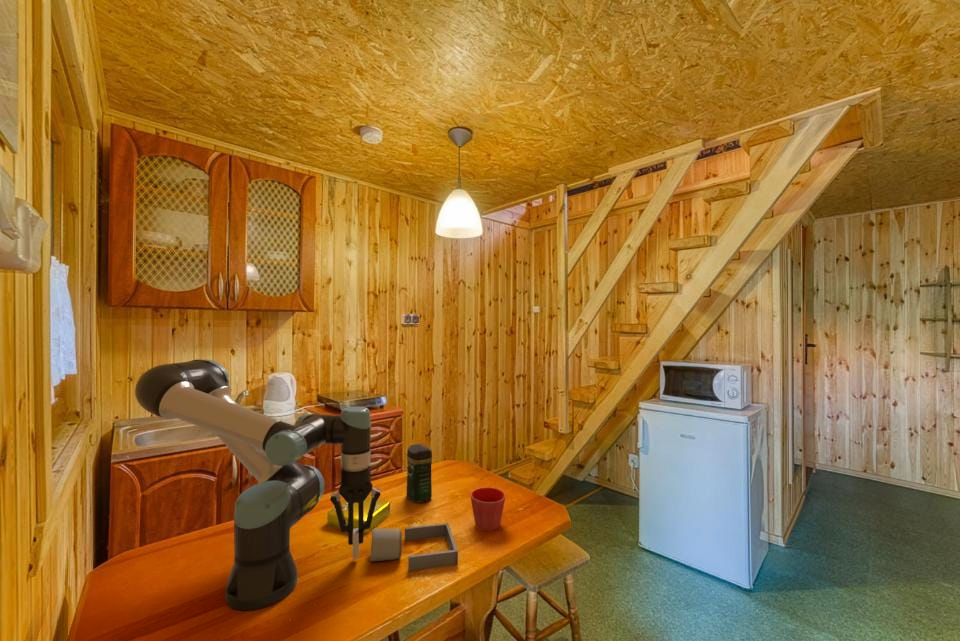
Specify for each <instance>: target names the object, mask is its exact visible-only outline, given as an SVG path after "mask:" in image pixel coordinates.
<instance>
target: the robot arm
mask: <svg viewBox="0 0 960 641" xmlns="http://www.w3.org/2000/svg"><path fill="white" fill-rule="evenodd" d="M229 377H230V376H229V373H228V371H227V369H226V368H225V367H224V366H223V365H222V364H221V363H219V362H217V361H215V360H211V359H192V360H189V361H183V362H182V361H181V362H174V363H165V364H159V365H156V366H153V367H152V368H149V369H148V370H146V371H145V372H144V373H143V374H141V376H140V377H139V378H138V379H137V382H136V384H135V388H134V394H135V399H136V401H137V402H138V404H139V405H140V407H141V408H142V409H144V410H145V411H147V412H149V413H150V414H151V415H153V416H157V417H159V418H162V419H164V420H173V419H179V420H181V421H183V422H185V423H188V424H191V425H194V426H197V427H199V428H201V429H205V430H207V431H210V432H212V433H214V434H215V435H216V436H217V437H218V438H219V440H220V441H221V442H222V443H223V444H224V445H225V446H226V447H227V449H228V450H229V451H230V452H231V453H232V454H233V455H234V456H235V457H236V458H237V460H238V461H239V462H240V463H241V464H242V465H243V466H244V468H245V469H246V471H247V470H248V472H249V473H250V474H251V475H252V477H254V478H255V479H256V481H257V484H254V485H252V486H249V487H248V488H246V489H245V490H244V491H242V492H241V493H240V495H239V496H238V497H237V498H236V501H235V505H234V511H233V521H234V523H233V524H234V525H233V526H234V528H233V529H234V535H233V537H234V539H233V540H234V548H233V549H234V551H233V552H234V558H233V559H234V560H233V564H232V568H231V571H230V574H229V576H228V579H227V582H226V586H225V591H224V594H225V595H224V599H225V600H224V601H225V603H226V605H227V606H228V607H229V608H231V609H234V610H239V611H254V610H258V609H259V610H260V609H262V608H266V607H269V606H271V605H273V604H276V603H277V602H279V601H281V600H283V599H284V598H286V597H287V596H288V595H290V593H292V592H293V590H294V589H295V587H296V586H297V582H298V568H297V565H296V563H295V560H294V556H293V555H292V553H291V549H290V547H291V546H290V544H291V542H290V541H291V540H290V539H291V538H290V536H291V534H290V533H291V528H292V527H293V526H295V525H296V524H297V523H298V522H299V521H300V520H301V519H303V517H305V516H306V515H307V514H308V513H310V512H312V511H313V510H314V508H315V507H316V506H317V504H319V502H320V501H321V500H322V498H323V495H324V492H325V480H324V477H323V475H322V473H321V472H320V470H318V468H316V467H315V466H313V465H311V464H310V465H307V464H303V465H302V463H300V461H299V460H300V459H302V458H303V456H305V455H307V454H308V453H310V452H312V451H313V450H315V449H316V448H318V447H320V446H322V445H340V467H341V470H340V486H339V489H338V490H337V491H336V492H333V493H332V494H331V495H330V499H329V500H330V502H331V504H332V505H333V506H334V507H335V510H336V514H337V517H338V521H339V525H340V529H339V530H340V532H341V533H347V535H348V536H347V539H348V540H347V544H348V545H349V546H352V559H359V558H360V556H359V555H360V544H363V543H364V538H365V537H364V535H365V534H364V530H365V529H369V528H370V526H371V522H372V518H373V514H374V510H375V505H376V501H377V500H378V499H380V497H381V490H380V488H377V489H376V488H375V487H374V486H373V483H372V482H371V481H372V479H371V477H372V476H371V470H372V469H371V468H372V466H371V462H372V460H371V459H372V458H371V456H372V455H371V454H372V452H371V451H372V450H371V436H372V435H371V434H372V433H371V432H372V431H371V430H372V429H371V428H372V423H371V412H370V410H369V408H367V407H365V406H350V407H349V406H348V407H345V408H343V409H342V410H341V411H340V415H339V414H319V413H318V414H317V413H311V414H307V413H306V414H302V415H300V416H299V417H298V418H297V420H296V421H295V422H294V424H291V423H288V422H286V421H282V420H279V419H276V418H274V417H271V416H268V415H266V414H264V413H261V412H257V411H255V410H252V409H250V408H248V407H245V406H242V405H239V404H238V403H237V401H235V400H234V398H233V397H232V396H231V394H232V393H231V392H232V387H231V385H230V379H229ZM369 495H370V497H372V499H371V503H370V508H369V512H368V516H367V520H366V522H365V523H364V500H365V499H366V498H367V497H369ZM341 497H342V498H343V499H344V501H345V500H346V502H348V525H347V524H346V521H345V517H344V513H343V510H342V506H341V503H342V502H341V499H342V498H341ZM354 503H358V528H356V529H353V526H354V525H353V519H354Z"/></svg>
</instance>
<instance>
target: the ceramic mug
mask: <svg viewBox="0 0 960 641" xmlns="http://www.w3.org/2000/svg"><path fill="white" fill-rule="evenodd" d="M371 532H372V534H371V546H370V562H380V561H392V560H397V559H400V558H401V556H402V552H403V531H402V530H401V529H399V528H373V529H372V531H371Z"/></svg>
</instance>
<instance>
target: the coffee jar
mask: <svg viewBox="0 0 960 641" xmlns="http://www.w3.org/2000/svg"><path fill="white" fill-rule="evenodd" d="M406 460H407V468H406V469H407V470H406V471H407V472H406V474H407V475H406V476H407V477H406V496H407V498H408V500H409V501H411V502H413V503H425V502H427V501H429V500H431V499H432V496H433V495H432V486H433V485H432V461H433V451H432V449H430V448H429V447H427V446H425V445H423V444H421V443H417V444H411V445H409V446H408V447H407V452H406Z"/></svg>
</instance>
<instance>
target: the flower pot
mask: <svg viewBox="0 0 960 641" xmlns="http://www.w3.org/2000/svg"><path fill="white" fill-rule="evenodd" d="M470 500H471V507H472V515H473V519H474V524H475V527H476V528H477V529H478V528H479V530H480V529H481V531H483V530H485V531H487V532H493V531H495V529H496V530H498V529H499V528H500V527H499V526H501V522H502V518H503V512H504V505H505V501H506V494H505V492H504V491H503V490H501V489H499V488H495V487H488V486H487V487H479V488H475V489H474V490H472V491H471V493H470ZM497 528H498V529H497ZM492 530H493V531H492ZM485 531H484V532H485Z"/></svg>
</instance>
